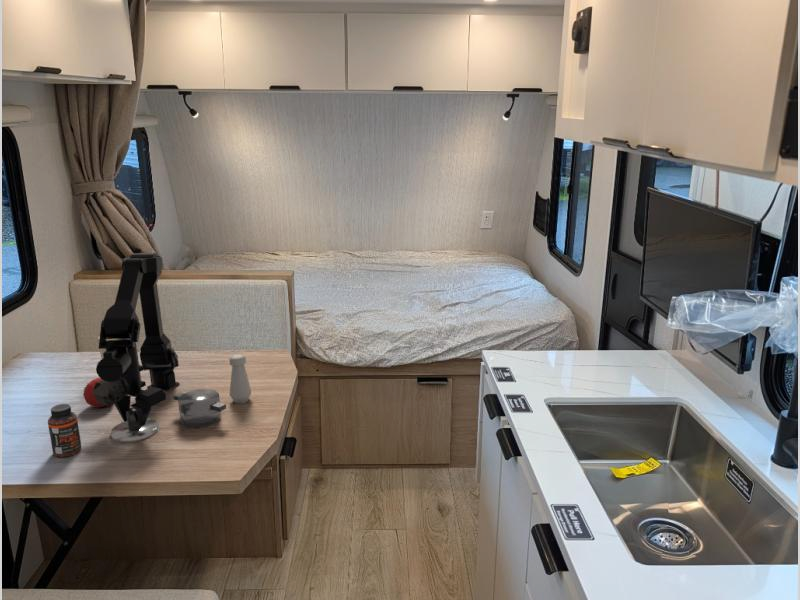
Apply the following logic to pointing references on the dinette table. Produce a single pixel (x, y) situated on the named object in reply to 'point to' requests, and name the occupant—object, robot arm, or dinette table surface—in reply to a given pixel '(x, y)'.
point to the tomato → (91, 393)
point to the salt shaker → (239, 380)
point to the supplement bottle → (64, 431)
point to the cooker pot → (199, 407)
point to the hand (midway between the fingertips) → (134, 423)
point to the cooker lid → (134, 428)
